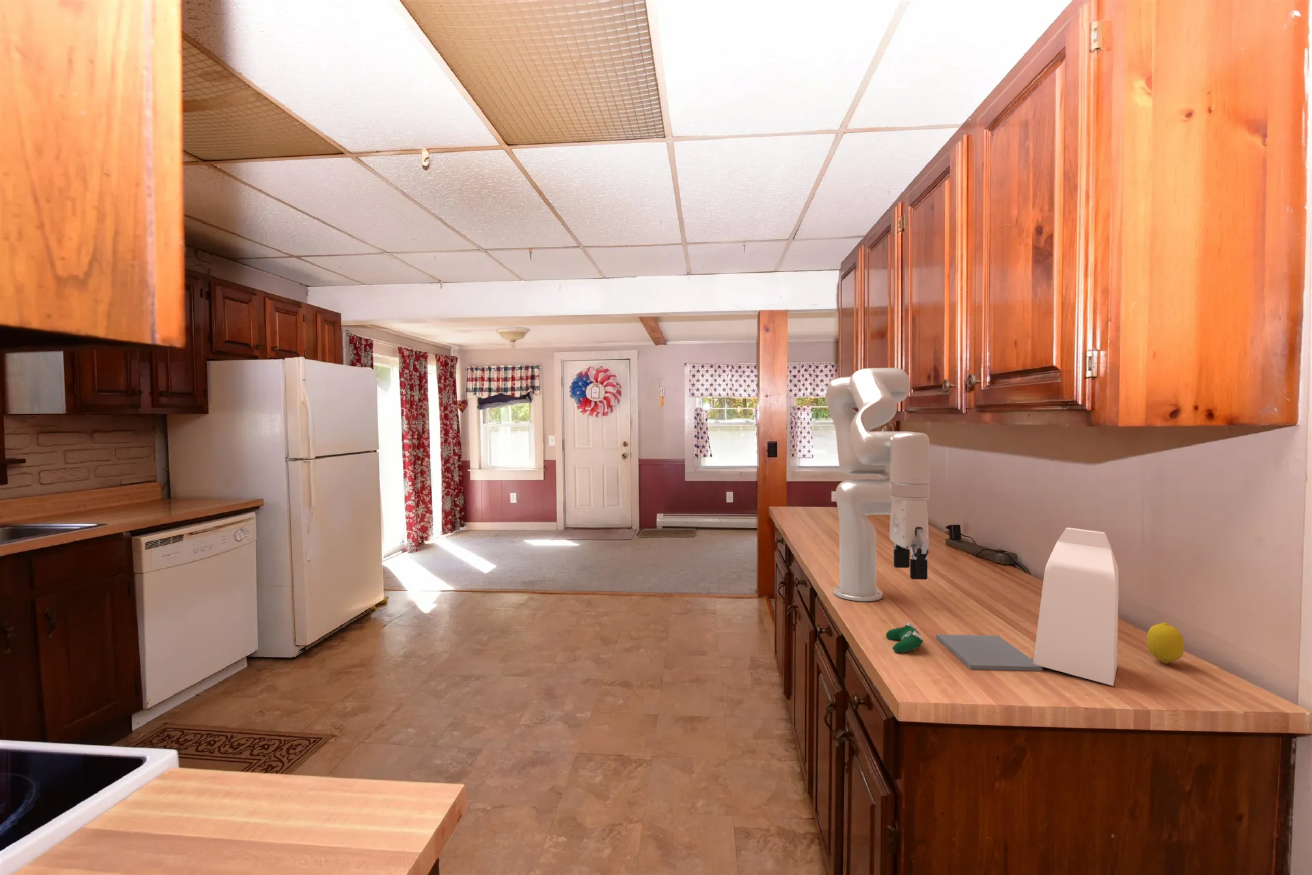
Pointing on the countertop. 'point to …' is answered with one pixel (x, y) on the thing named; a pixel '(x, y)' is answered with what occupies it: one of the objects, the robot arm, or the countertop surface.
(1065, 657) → the milk
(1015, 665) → the slate mat
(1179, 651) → the lemon
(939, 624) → the countertop surface
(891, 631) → the gaming controller
